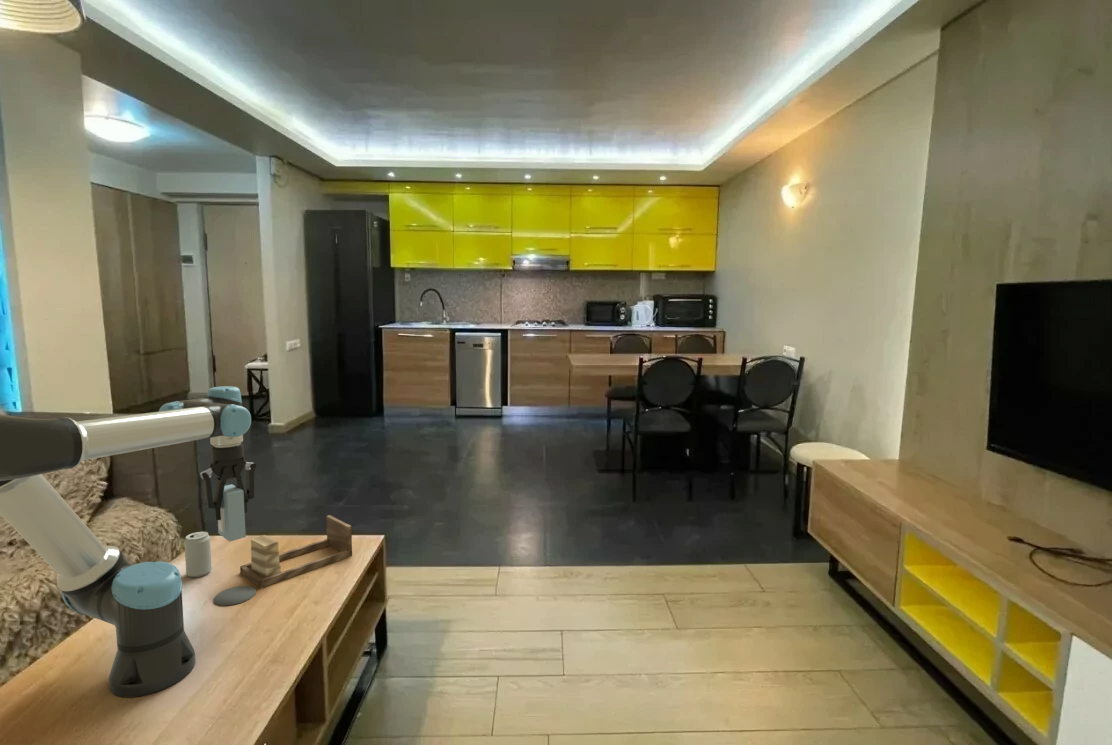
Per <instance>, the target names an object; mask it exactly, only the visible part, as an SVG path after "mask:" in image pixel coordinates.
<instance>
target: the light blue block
mask: <svg viewBox="0 0 1112 745" xmlns="http://www.w3.org/2000/svg"><path fill="white" fill-rule="evenodd" d="M221 506H222V507H223V508H224V514H225V532H221V531H220V530H219V527H218V526H217V533H218V534H219V535H220V536H221V537H222V538H224V539H225V540H226V541H228V542H229V543H230V542H233V541H237V540H241V539H244V538H246V537H247V536H246V519H245V518H246V517H245V514H246V513H245V512H244V492H243V490H241V489H239V488H237V487H236V486H235V484H225V486H224V492H223V498H222V503H221Z"/></svg>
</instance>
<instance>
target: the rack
mask: <svg viewBox="0 0 1112 745" xmlns="http://www.w3.org/2000/svg"><path fill="white" fill-rule="evenodd" d="M325 519H326V539H322V540H319V541H315V542H311V543H310V544H306V545H304V546H300V547H299V546H298V547H296V548H294V549H290V550H287V551H285V552H281V553H279V563H280V562H283V561H285V560H288V559H291V558H295V557H297V556H301V555H305V554H306V553H311V552H313V551H315V550H316V551H317V550H319V549H322V548H325V547H328V546H329V547H331V548H333V549H334V550H336V551H338V552H336V553H333V554H330V555H327V556H324V557H321V558H319V559H316V560H313V561H309V562H307V563H303V564H301V565H299V566H296V567H292V568H290V569H287V570H284V571H281V572H280V573H278V574H275V575H272V576H269V577H266V578H263V579H262V578H261V577H259V576H258V575H257V574H255V573H254V572H253V571H252V565H251V562H249V563H246V564H243V565H240V566H239V571H240V574H242V576H244V577H245V578H246V579H248V580H249V581H250V582H251V583H252V584H254V586H256V587H258V588H259V589H262V588H265V587H268V586H270V585H273V584H276V583H279V582H282V581H285V580H288V579H290V578H293V577H296V576H299V575H302V574H304V573H307V572H309V571H313V570H316V569H319V568H321V567H324V566H327V565H329V564H333V563H336V562H338V561H341V560H344V559H347V558H349V557H352V556H353V537H352V535H353V534H352V533H353V532H352V525H351V524H349V523H346V522H345V521H342V520H340V519H338V518H336V517H334V516H333V515H330V514H329V515H326V518H325ZM261 587H262V588H261Z"/></svg>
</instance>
